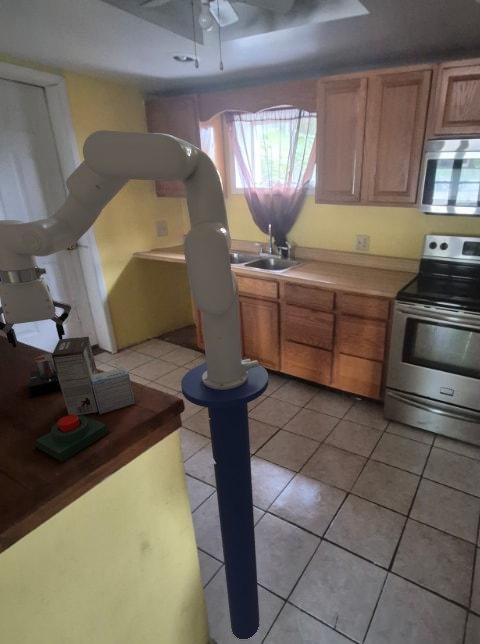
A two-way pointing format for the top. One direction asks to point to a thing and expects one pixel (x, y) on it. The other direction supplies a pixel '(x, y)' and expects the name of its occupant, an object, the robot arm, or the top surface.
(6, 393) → the top surface
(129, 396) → the medicine box
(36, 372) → the dial panel
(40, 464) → the top surface
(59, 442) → the switch block
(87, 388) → the coffee box
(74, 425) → the light button
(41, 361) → the dial
